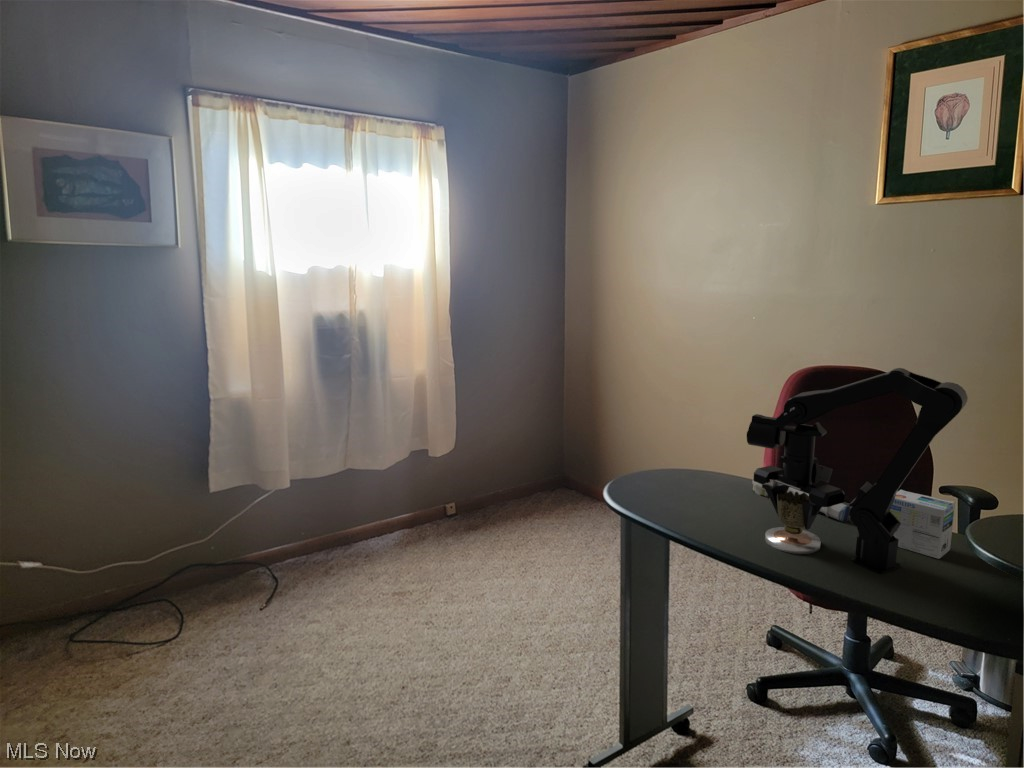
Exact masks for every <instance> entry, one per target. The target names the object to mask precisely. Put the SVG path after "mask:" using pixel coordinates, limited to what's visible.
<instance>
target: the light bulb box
mask: <svg viewBox="0 0 1024 768" xmlns="http://www.w3.org/2000/svg"><path fill="white" fill-rule="evenodd" d="M955 507H956V502H955V501H952V500H948V499H947V500H946V499H943V498H937V497H933V496H930V495H925V494H920V493H915V492H911V491H906V490H904V489H898V490H897V493H896V496H895V499H894V502H893V504H892V507H891V509H890V511H891V513H892V514H893V515H894V516H895V517H896V518H897V519H898V520H899V522H900V523H901V524H900V526H899V528H898V529H897V531H896V532H895V533H894V535H893V536H894V537H895V538H897V539H899V540H898V548H900V549H904V550H907V551H911V552H915V553H918V554H921V555H924V556H928V557H932V558H935V559H940V560H941V558H942V557H944V556H945V555H946V554H947V553H948V552H949V551H950V550H951V543H952V536H953V535H952V534H953V526H954V516H955V510H956V509H955Z"/></svg>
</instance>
